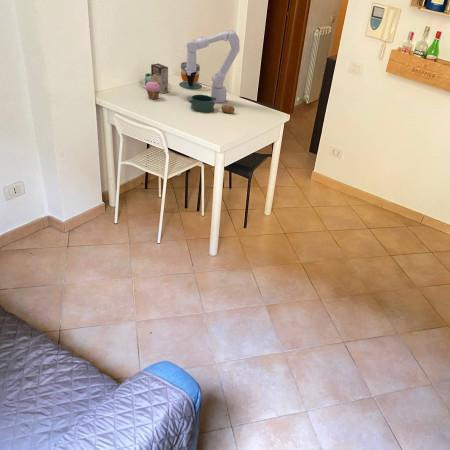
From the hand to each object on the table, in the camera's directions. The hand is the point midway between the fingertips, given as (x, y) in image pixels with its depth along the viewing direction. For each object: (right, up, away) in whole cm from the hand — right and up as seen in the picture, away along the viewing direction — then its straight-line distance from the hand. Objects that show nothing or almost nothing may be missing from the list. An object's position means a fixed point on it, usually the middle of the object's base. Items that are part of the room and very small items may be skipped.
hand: (190, 84), depth 272 cm
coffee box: (-22, -2, +7) cm, 23 cm away
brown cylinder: (+24, -19, -6) cm, 32 cm away
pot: (+9, -17, -7) cm, 21 cm away
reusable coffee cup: (-7, +6, +24) cm, 26 cm away
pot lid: (0, -1, 0) cm, 1 cm away
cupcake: (-22, -11, -6) cm, 25 cm away
